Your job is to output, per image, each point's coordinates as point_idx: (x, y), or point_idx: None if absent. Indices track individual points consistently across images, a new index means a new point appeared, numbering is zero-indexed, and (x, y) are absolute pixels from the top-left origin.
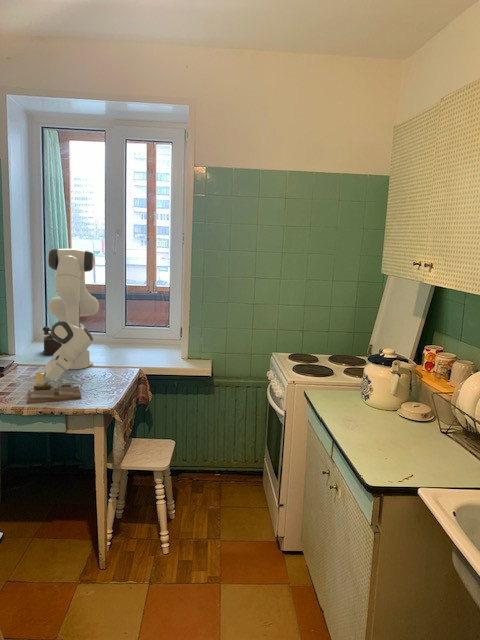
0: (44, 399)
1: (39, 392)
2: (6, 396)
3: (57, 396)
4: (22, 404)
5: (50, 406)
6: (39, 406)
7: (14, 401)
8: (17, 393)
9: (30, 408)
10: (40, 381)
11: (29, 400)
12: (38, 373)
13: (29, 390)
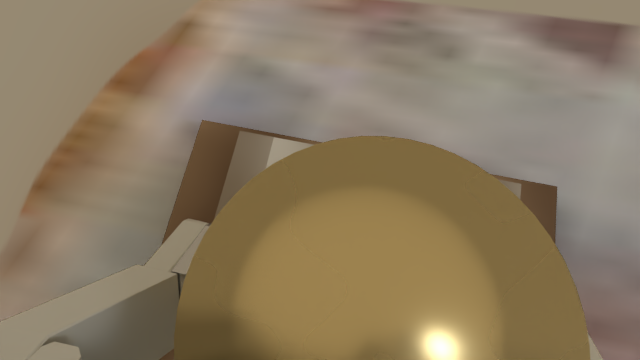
0: None
1: None
2: (493, 16)
3: None
4: (216, 93)
5: (10, 303)
6: (78, 209)
7: (328, 51)
8: (552, 103)
9: (77, 132)
10: (174, 238)
11: (207, 139)
12: (401, 220)
13: (542, 196)
